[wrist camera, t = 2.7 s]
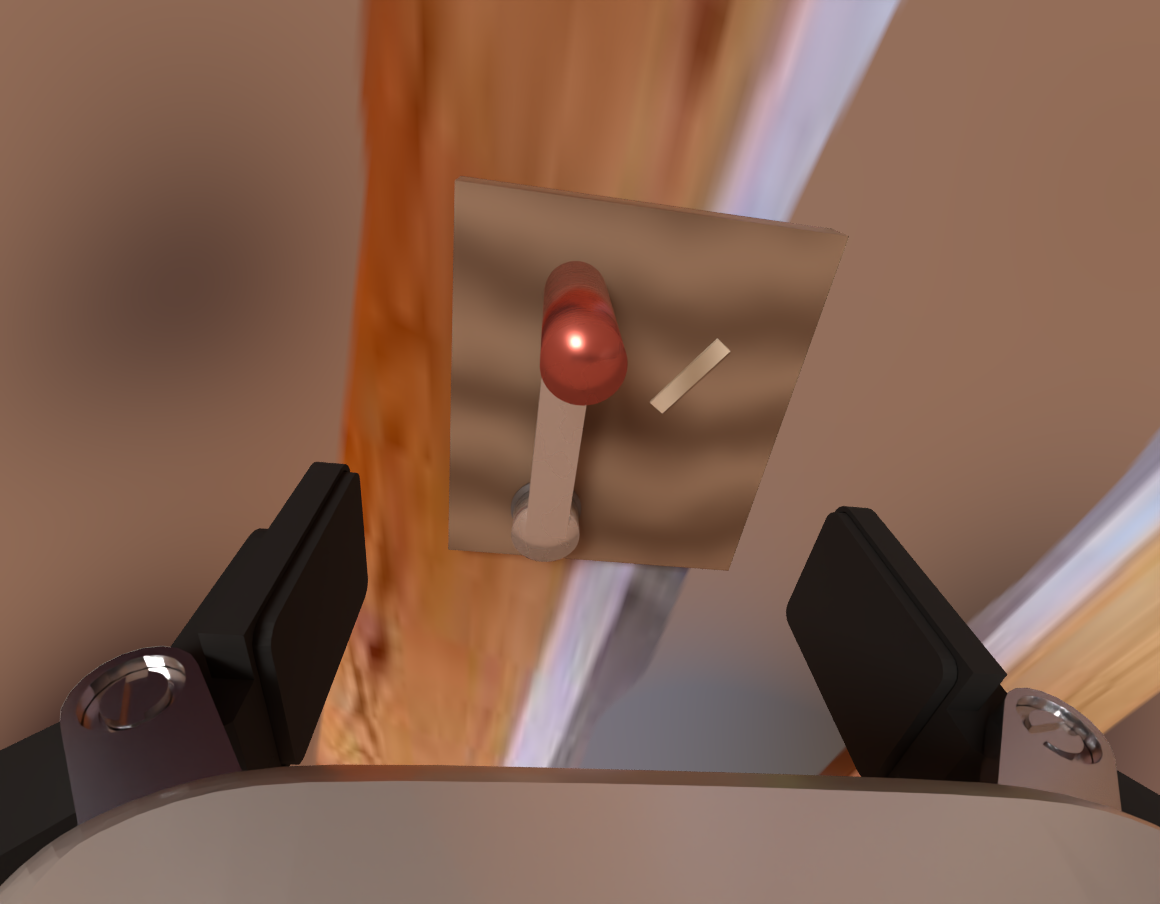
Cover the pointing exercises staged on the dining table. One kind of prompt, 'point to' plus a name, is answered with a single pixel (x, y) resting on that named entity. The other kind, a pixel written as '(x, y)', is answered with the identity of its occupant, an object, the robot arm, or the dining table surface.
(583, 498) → the lever board
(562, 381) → the lever
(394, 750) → the dining table surface
